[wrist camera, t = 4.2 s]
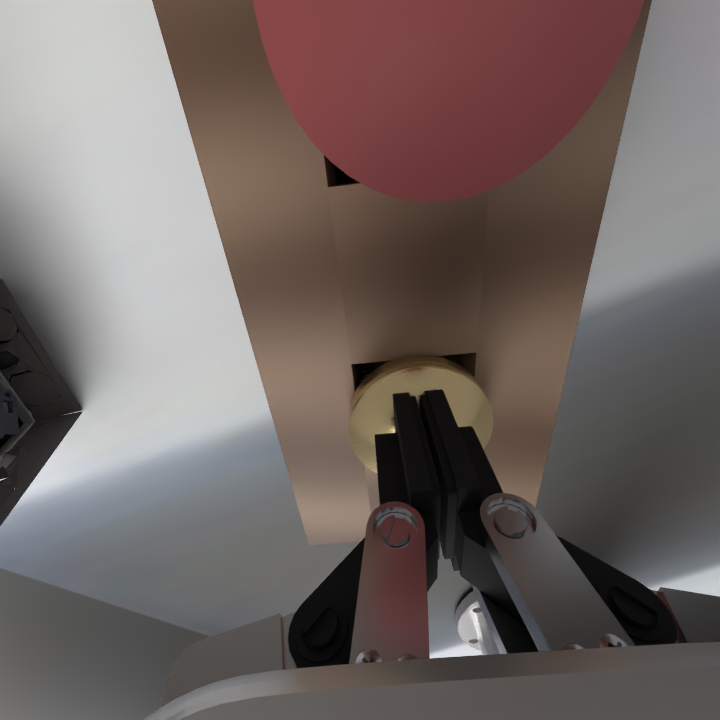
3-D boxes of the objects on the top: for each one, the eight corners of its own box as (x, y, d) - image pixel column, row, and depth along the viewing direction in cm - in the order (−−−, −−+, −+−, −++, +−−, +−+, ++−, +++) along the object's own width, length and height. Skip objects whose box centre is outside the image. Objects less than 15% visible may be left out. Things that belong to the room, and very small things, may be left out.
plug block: (493, 454, 21) (530, 528, 16) (318, 469, 21) (309, 545, 17) (589, -315, 8) (847, -854, 4) (159, -242, 9) (-37, -656, 4)
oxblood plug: (479, 179, 11) (606, 183, 5) (323, 196, 11) (292, 218, 5) (493, -50, 8) (753, -473, 3) (294, -22, 8) (185, -368, 3)
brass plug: (448, 386, 18) (487, 476, 13) (356, 394, 18) (356, 487, 13) (450, 298, 16) (500, 362, 10) (345, 308, 16) (340, 377, 11)
